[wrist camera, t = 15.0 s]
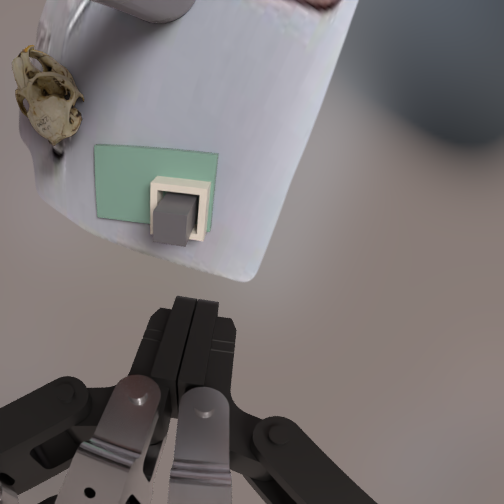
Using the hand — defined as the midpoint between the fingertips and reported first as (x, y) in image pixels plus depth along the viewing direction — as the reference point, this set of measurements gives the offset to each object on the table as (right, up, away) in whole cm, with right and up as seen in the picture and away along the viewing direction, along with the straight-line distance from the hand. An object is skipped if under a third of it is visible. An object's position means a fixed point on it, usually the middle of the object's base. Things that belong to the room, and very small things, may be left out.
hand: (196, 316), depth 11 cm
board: (-13, +12, +34) cm, 38 cm away
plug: (-8, +9, +34) cm, 37 cm away
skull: (-27, +27, +26) cm, 46 cm away
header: (-8, +9, +34) cm, 37 cm away
